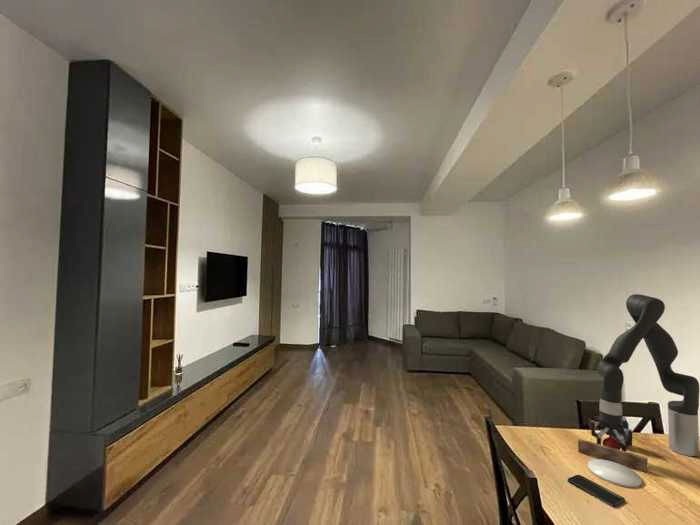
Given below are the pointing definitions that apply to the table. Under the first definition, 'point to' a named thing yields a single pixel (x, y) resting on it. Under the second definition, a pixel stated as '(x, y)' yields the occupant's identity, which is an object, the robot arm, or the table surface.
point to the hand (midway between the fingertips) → (611, 450)
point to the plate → (614, 473)
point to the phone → (597, 491)
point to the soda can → (625, 436)
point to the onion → (611, 443)
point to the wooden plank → (613, 455)
